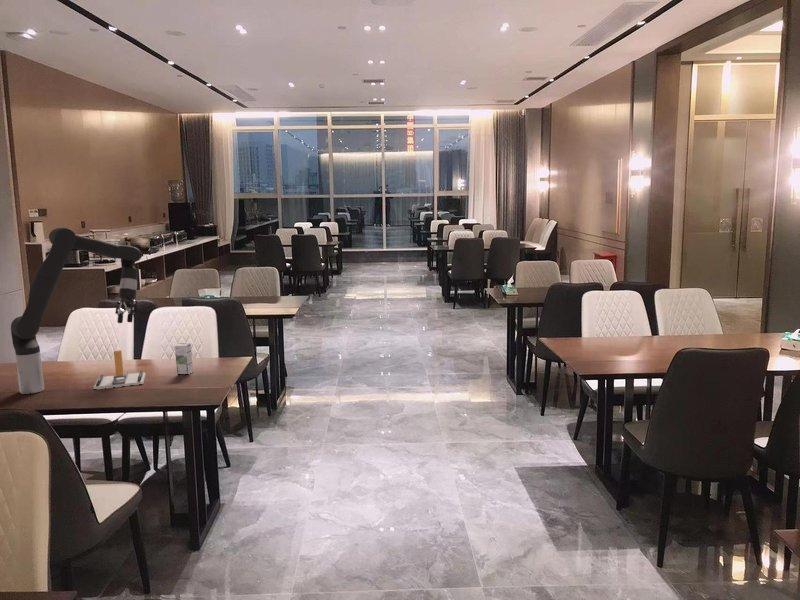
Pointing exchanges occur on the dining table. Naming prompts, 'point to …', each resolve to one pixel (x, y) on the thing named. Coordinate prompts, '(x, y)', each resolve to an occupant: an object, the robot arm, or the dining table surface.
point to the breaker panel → (120, 380)
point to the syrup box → (183, 358)
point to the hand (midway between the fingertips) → (124, 322)
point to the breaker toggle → (119, 364)
